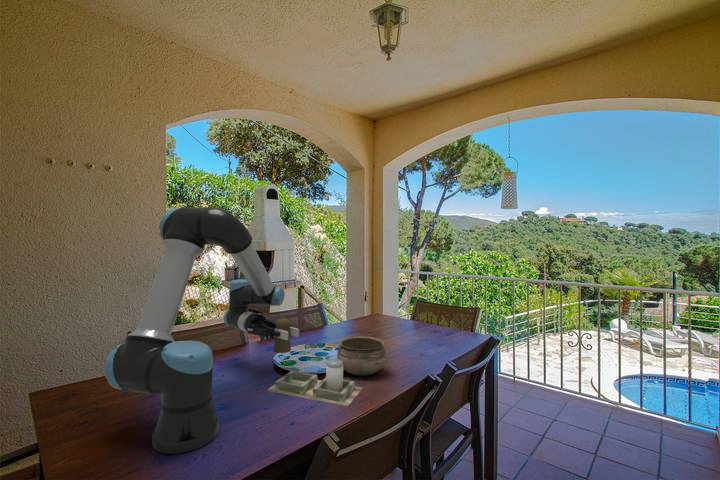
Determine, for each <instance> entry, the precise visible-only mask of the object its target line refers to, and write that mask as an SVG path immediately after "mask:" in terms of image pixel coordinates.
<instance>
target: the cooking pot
mask: <svg viewBox="0 0 720 480" xmlns="http://www.w3.org/2000/svg"><path fill="white" fill-rule="evenodd" d="M338 343H339V344H338V350H337V353H336V359H340V360H342V361H343V371H345V372H346V373H348V374H349V375H353V376H356V377H367V376H372V375H373V374H375V373H377V372H379V371H380V370H381V369H382V368H384V366H385V364H386V362H388V359H387V352H386V349H385V347H384V346H385V340H382V339H381V338H378V337H374V336H367V335H354V336H347V337H344V338H342V339H340V340H339V342H338Z"/></svg>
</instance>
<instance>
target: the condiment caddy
mask: <svg viewBox="0 0 720 480" xmlns="http://www.w3.org/2000/svg"><path fill="white" fill-rule="evenodd" d="M362 389H363V387H360V386H356V381H355V380H349V379H344V378H343V390H342V391H341V392H338V391H333V390H327V389H326V377H324V379H322V380H320V379H318V374H314V373H309V372H308V373H307V372H302V371H295V370H290V371H289V372H287V373H286V374H285V375H283V376H282V377H281V378H279V379H277V380H275V382H274V384H273V385H272V386H270V387H268V388H267V389H266V390H265V394H266V395H267V394H268V393H269V392H273V393H278V394H283V395H287V396H291V397H292V396H293V397H298V398H303V399H307V400H313V401H318V402H323V403H326V404H327V403H328V404H333V405H337V406H343V407H347V408H348V407H349V405H350V404H351V403H352V402H353V401H354V400H355V398H356V397H357V396H358V395H359V393H360V392H361V391H362Z"/></svg>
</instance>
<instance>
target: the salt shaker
mask: <svg viewBox="0 0 720 480" xmlns="http://www.w3.org/2000/svg"><path fill="white" fill-rule="evenodd" d="M325 366H326V370H325V373H326V374H325V378H326V389H327V390H333V391H338V392H341V391H342V390H343V379H344V369H343V361H342V360H340V359H337V358H331V359H328V360H327V361H326V365H325Z"/></svg>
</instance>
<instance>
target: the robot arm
mask: <svg viewBox="0 0 720 480" xmlns="http://www.w3.org/2000/svg"><path fill="white" fill-rule="evenodd" d="M158 225H159V226H158V229H159V235H160V238H161V239H162V242H161V243H162V246H163V248H164V249H165V251H164V252H163V256H162V259H161V261H160V264H159V266H158V270H157V272H156V274H155V275H156V276H155V277H154V280H153V283H152V285H151V289H150V290H149V293H148V297H147V299H146V302H145V305H144V307H143V310H142V312H141V316H140V319H139V321H138V324H137V326H136V329H135V330H134V331H132V332H130V333H128V334H127V336H126V337H125V340H124V342H123V343H120V344H118V345H116V347H115V348H114V349H112V350H111V351H110V352H109V354H108V356H107V358H106V360H105V365H104V376H105V378H106V380H107V383H108V385H110V386H111V387H112V388H114V389H115V390H121V391H123V392H127V393H132V392H133V393H140V394H141V393H142V394H148V395H149V394H150V395H159V396H161V402H160V413H159V415H158V419H157V421H156V427H155V428H154V430H153V432H152V439H151V446H152V448H153V449H154V450H155V451H156V452H158V453H161V454H166V455H167V454H168V455H174V454H175V455H177V454H183V453H188V452H191V451H194V450H197V449H199V448H202V447H204V446H206V445H208V444H209V443H210V442H211V441H213V440H214V439H215V438H216V437H217V435H218V433H219V418H218V417H217V415H216V411H215V407H214V405H213V401H212V400H213V397H212V395H213V372H214V371H213V367H214V360H213V350H212V349H211V347H210V345H208V344H206V343H204V342H202V341H197V340H179V341H178V340H176V341H175V340H174V338H173V336H172V332H173V329H174V326H175V324H176V321H177V317H178V314H179V310H180V308H181V304H182V301H183V298H184V295H185V292H186V289H187V286H188V283H189V279H190V276H191V273H192V270H193V267H194V264H195V262H196V257H199V256H200V255H202V254H203V253H204V250H205V246H206V245H209V246H210V245H211V246H212V245H215V246H219V247H220V248H222V249H223V251H224V252H225V253H226V254H228V255H230V256H231V257H232V259H233V260H234V262H235V264H236V265H237V267H238V268H239V270H240V272H241V273H242V275H243V276H244V277H245V279H232V280H231V281H230V282H229V290H228V299H229V300H228V309H227V310H225V312H224V314H223V322H224V324H225V325H226V326H228V327H230V328H232V329H236V330H240V331H242V332H246V333H247V334H252V335H257V336H259V337H260V336H261V337H264V338H268V337H269V339H274V337H277V338H281V339H284V340H288V332H287V331H284V330H280V329H277V328H276V326H275V322H276V320H277V319H275V320H274V321H272V320H269V319H266V317H265V316H264V315H263V314H259V313H256V312H253V311H249V306H250V305H255V306H256V305H258V306H267V307H268V306H269V307H273V306H274V307H275V306H276V307H278V306H281V305H283V303H284V300H285V297H286V296H285V290H284V287H282V286H277V285H276V286H275V284H274V283H273V280H272V279H271V277H270V276H269V273H268V272H267V269H266V268H265V266H264V264H263V262H262V260H261V258H260V256H259V255H258V252H257V251H256V249H255V247H254V245H253V236H252V235H251V232H250V230H249V229H248V228H247V227H246V226H245V224H244V223H243V222H242V221H241V220H240V219H239V218H238V217H237V216H235V215H234V214H233V213H231V212H230V211H228V210H227V209H226V210H225V209H224V208H221V207H216V206H215V207H189V206H181V207H174V208H171V209H169V210H167V211H166V212H165V213H164V214H163V215H162V217H161V219H160V222H159V224H158ZM289 336H292V337H295V338H299V337H300V329H299V328H296V327H293V326H292V324H291V323H290V327H289Z"/></svg>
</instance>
